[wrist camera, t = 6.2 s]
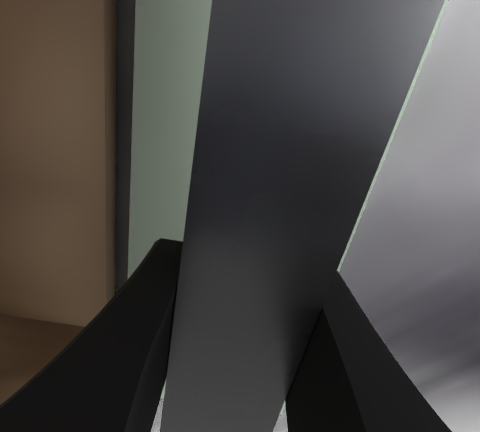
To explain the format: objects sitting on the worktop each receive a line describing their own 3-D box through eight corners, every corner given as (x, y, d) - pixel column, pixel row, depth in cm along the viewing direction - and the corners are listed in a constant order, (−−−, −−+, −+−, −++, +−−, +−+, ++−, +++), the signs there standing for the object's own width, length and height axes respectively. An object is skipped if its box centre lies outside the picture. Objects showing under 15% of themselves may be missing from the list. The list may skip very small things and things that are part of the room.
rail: (479, -306, 5) (626, -459, 3) (230, 464, 15) (226, 546, 13) (271, -358, 5) (280, -557, 3) (162, 455, 15) (147, 538, 13)
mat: (556, -292, 7) (570, -301, 7) (280, 406, 18) (281, 415, 18) (153, -392, 7) (147, -409, 6) (126, 384, 18) (124, 393, 17)
